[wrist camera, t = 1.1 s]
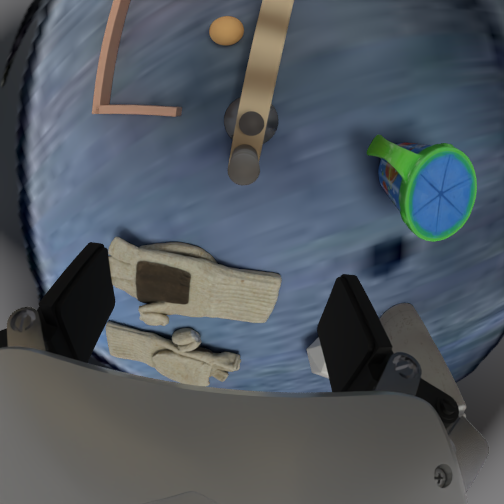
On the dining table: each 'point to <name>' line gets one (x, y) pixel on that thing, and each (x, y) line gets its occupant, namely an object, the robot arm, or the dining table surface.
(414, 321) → the thermos bottle
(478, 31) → the dining table surface
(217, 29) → the ball
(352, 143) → the dining table surface
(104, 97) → the open frame
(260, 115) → the lever
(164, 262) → the pair of gloves
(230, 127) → the pivot base
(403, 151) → the snack cup
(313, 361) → the die
